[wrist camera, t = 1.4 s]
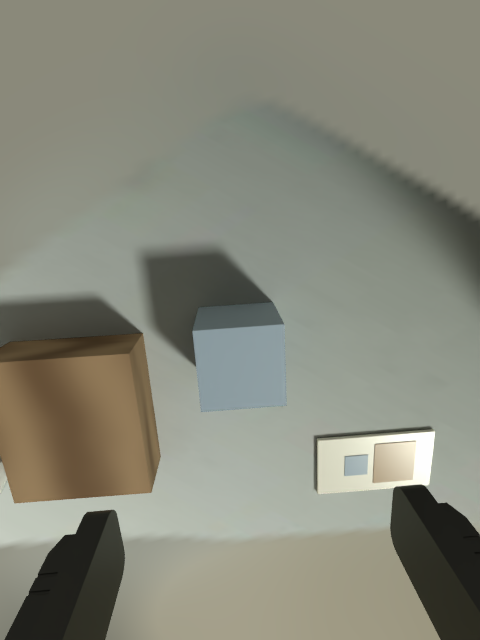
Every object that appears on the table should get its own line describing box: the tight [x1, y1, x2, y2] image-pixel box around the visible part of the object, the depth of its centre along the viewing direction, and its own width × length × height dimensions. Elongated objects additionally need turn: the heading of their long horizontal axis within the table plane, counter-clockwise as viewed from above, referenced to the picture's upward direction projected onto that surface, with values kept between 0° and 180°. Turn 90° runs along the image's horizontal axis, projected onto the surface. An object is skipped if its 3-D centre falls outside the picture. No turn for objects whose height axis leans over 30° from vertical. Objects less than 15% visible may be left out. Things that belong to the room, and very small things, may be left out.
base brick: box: [0, 333, 161, 503], centre depth 24 cm, size 9×10×4 cm
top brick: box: [192, 302, 287, 412], centre depth 22 cm, size 5×5×5 cm
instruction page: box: [317, 429, 435, 494], centre depth 28 cm, size 9×5×1 cm, turn 94°
